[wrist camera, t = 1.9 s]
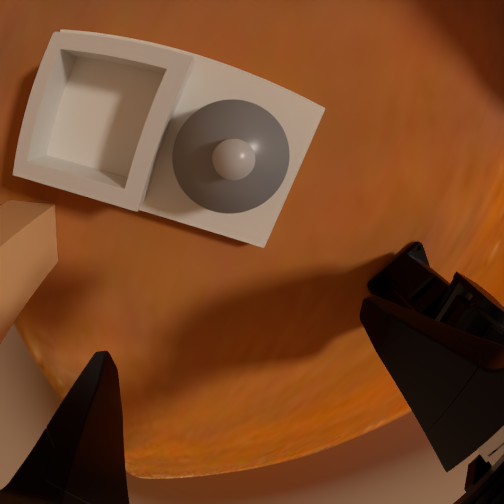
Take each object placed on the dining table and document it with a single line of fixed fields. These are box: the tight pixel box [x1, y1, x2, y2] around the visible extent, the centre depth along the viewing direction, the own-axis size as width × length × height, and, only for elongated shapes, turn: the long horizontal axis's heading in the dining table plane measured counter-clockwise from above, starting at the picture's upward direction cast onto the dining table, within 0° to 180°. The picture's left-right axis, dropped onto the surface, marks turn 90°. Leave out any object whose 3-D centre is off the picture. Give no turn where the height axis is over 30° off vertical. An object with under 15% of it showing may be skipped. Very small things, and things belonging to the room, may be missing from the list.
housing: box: [13, 30, 325, 248], centre depth 14 cm, size 18×10×5 cm, turn 68°
